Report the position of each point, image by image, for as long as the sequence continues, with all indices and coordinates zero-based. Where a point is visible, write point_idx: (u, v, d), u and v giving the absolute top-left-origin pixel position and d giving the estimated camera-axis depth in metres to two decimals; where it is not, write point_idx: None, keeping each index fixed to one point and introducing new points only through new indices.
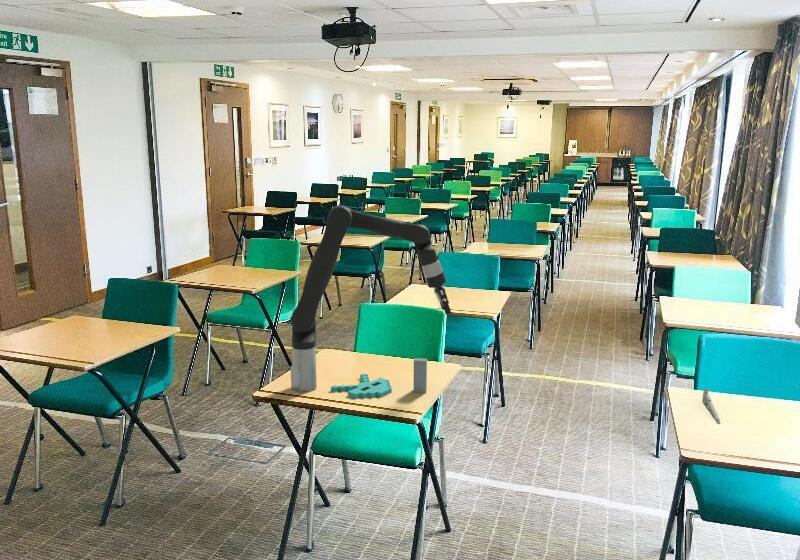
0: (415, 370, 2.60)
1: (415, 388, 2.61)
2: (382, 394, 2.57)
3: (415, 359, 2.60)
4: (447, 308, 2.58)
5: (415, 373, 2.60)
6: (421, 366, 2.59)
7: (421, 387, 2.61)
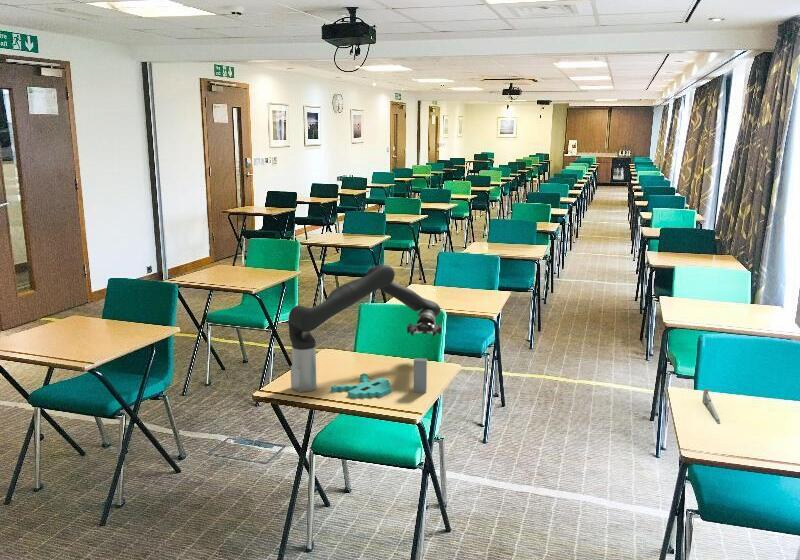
0: (415, 370, 2.60)
1: (415, 388, 2.61)
2: (382, 394, 2.57)
3: (415, 359, 2.60)
4: (436, 332, 2.71)
5: (415, 373, 2.60)
6: (421, 366, 2.59)
7: (421, 387, 2.61)
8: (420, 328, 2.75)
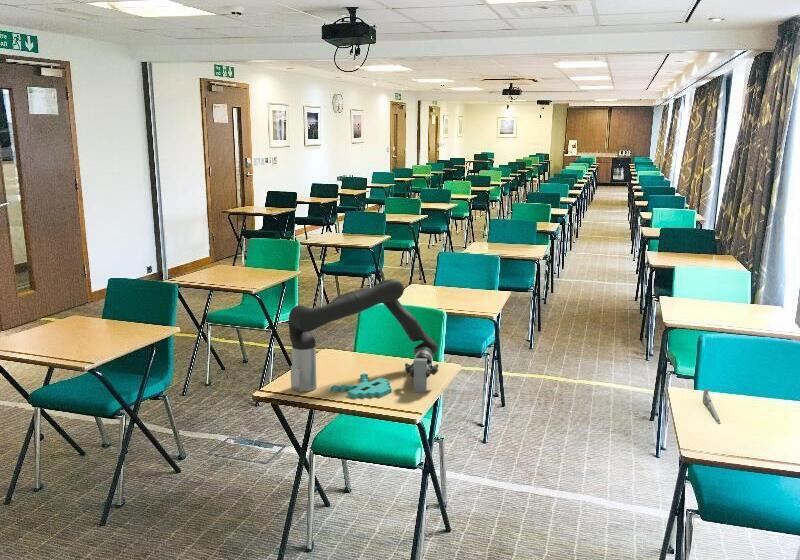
0: (415, 370, 2.60)
1: (415, 388, 2.61)
2: (382, 394, 2.57)
3: (415, 359, 2.60)
4: (429, 373, 2.61)
5: (415, 373, 2.60)
6: (421, 366, 2.59)
7: (421, 387, 2.61)
8: None
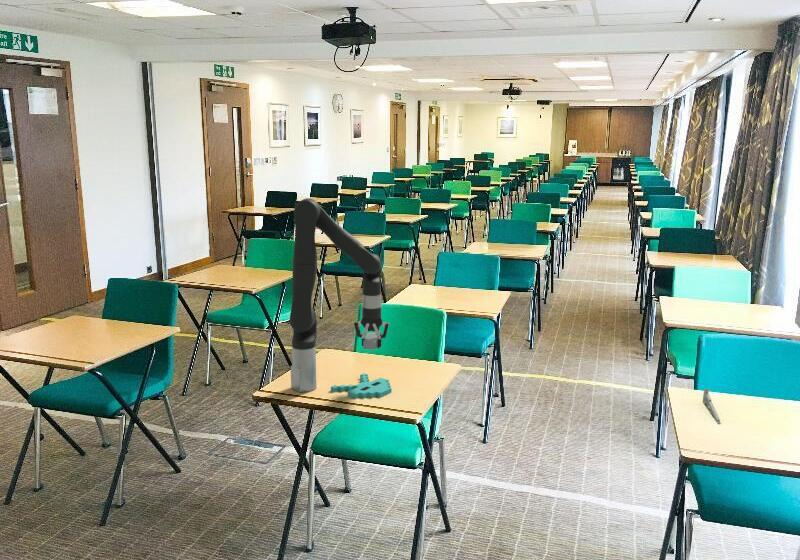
0: None
1: None
2: (382, 394, 2.57)
3: (364, 345, 2.56)
4: (381, 341, 2.61)
5: None
6: None
7: None
8: None
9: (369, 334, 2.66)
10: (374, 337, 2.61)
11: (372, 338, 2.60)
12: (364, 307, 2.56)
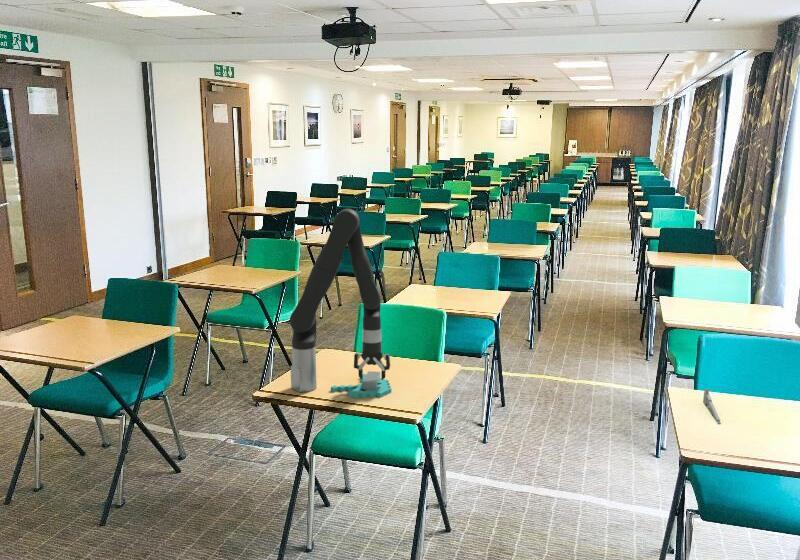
0: None
1: None
2: (382, 394, 2.57)
3: (364, 386, 2.60)
4: None
5: None
6: None
7: None
8: None
9: (369, 373, 2.69)
10: (373, 377, 2.65)
11: (372, 378, 2.63)
12: (364, 341, 2.59)
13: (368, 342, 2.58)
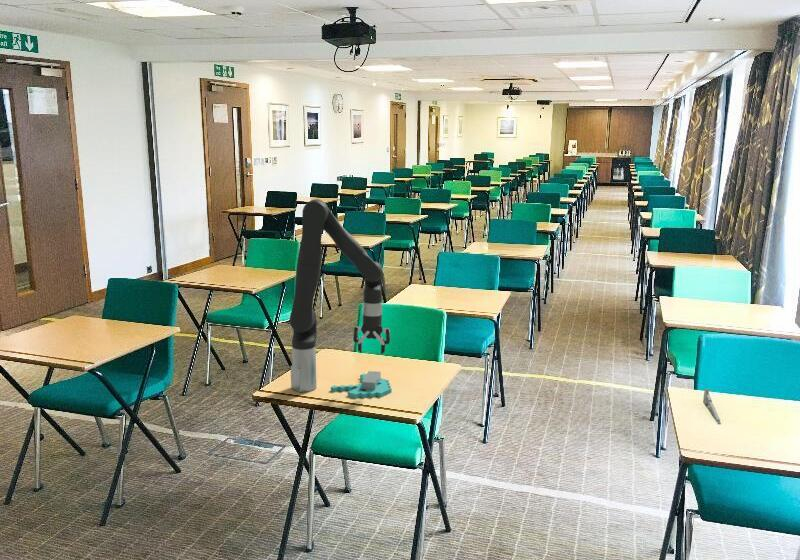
0: None
1: None
2: (382, 394, 2.57)
3: (363, 386, 2.60)
4: (384, 347, 2.62)
5: None
6: None
7: None
8: None
9: (369, 373, 2.69)
10: (373, 377, 2.65)
11: (372, 378, 2.63)
12: (365, 315, 2.57)
13: (368, 315, 2.56)
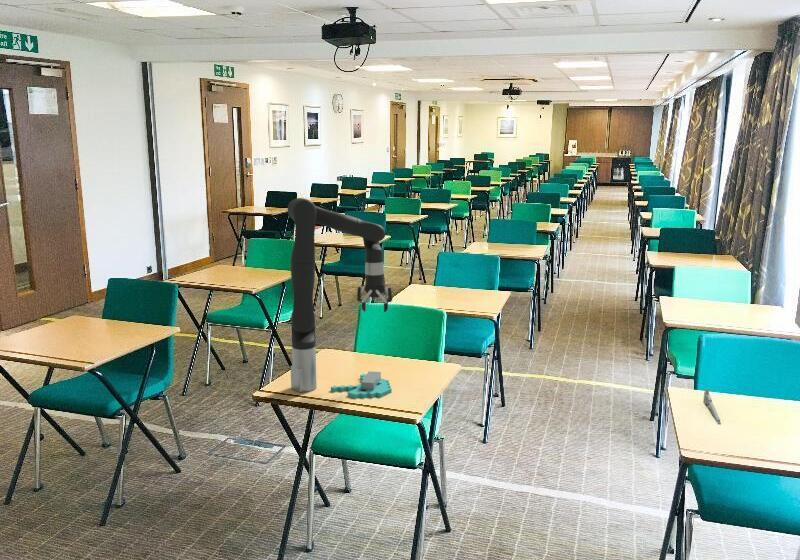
0: None
1: None
2: (382, 395, 2.57)
3: (362, 386, 2.60)
4: (387, 305, 2.72)
5: None
6: None
7: None
8: None
9: (369, 373, 2.69)
10: (373, 377, 2.65)
11: (371, 379, 2.63)
12: (367, 274, 2.68)
13: (371, 274, 2.67)
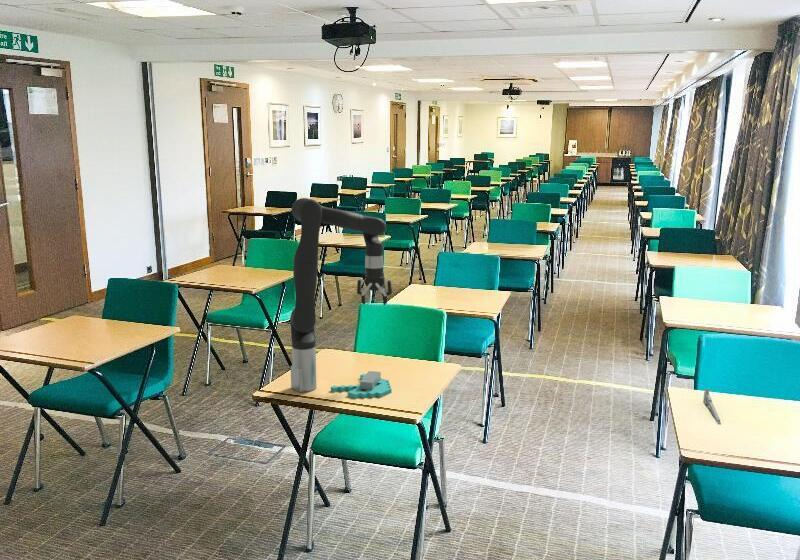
0: None
1: None
2: (382, 395, 2.57)
3: (361, 385, 2.60)
4: None
5: None
6: None
7: None
8: (370, 289, 2.76)
9: (369, 373, 2.69)
10: (372, 377, 2.65)
11: (370, 378, 2.63)
12: (367, 267, 2.72)
13: (371, 267, 2.71)
